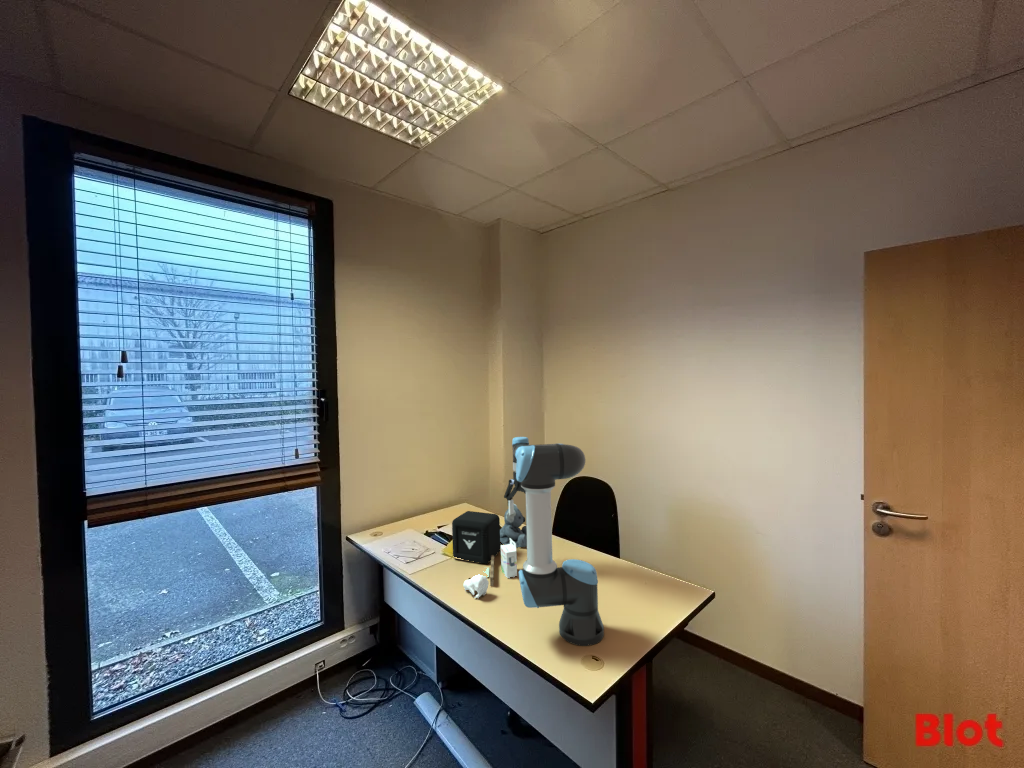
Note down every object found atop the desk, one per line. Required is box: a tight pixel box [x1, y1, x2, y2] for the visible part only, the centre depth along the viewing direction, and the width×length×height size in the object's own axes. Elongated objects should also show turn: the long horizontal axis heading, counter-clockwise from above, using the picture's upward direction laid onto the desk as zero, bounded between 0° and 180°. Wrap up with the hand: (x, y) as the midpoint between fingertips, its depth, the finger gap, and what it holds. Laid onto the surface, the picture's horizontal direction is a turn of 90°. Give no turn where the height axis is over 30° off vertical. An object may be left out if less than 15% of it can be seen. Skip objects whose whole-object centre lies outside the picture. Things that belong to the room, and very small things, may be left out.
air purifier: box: [451, 510, 501, 565], centre depth 201 cm, size 20×15×20 cm
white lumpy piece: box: [463, 574, 490, 599], centre depth 166 cm, size 6×8×12 cm
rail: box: [489, 555, 495, 587], centre depth 182 cm, size 22×1×4 cm, turn 2°
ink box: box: [500, 538, 518, 579], centre depth 182 cm, size 9×5×15 cm, turn 21°
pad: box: [483, 567, 490, 578], centre depth 183 cm, size 9×9×1 cm
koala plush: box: [500, 503, 527, 548], centre depth 218 cm, size 17×18×20 cm
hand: (522, 517), depth 186 cm, fingers open, 13 cm apart
